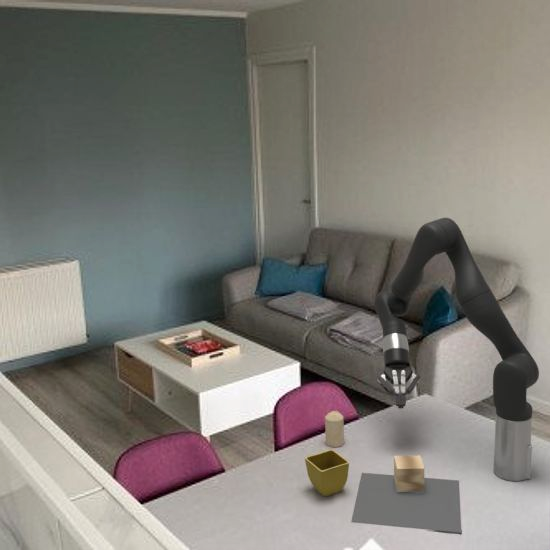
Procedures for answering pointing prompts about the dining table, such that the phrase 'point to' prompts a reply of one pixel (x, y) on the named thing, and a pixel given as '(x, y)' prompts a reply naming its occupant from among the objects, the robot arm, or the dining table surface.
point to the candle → (334, 429)
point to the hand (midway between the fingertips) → (401, 407)
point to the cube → (409, 474)
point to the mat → (408, 504)
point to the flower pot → (327, 472)
